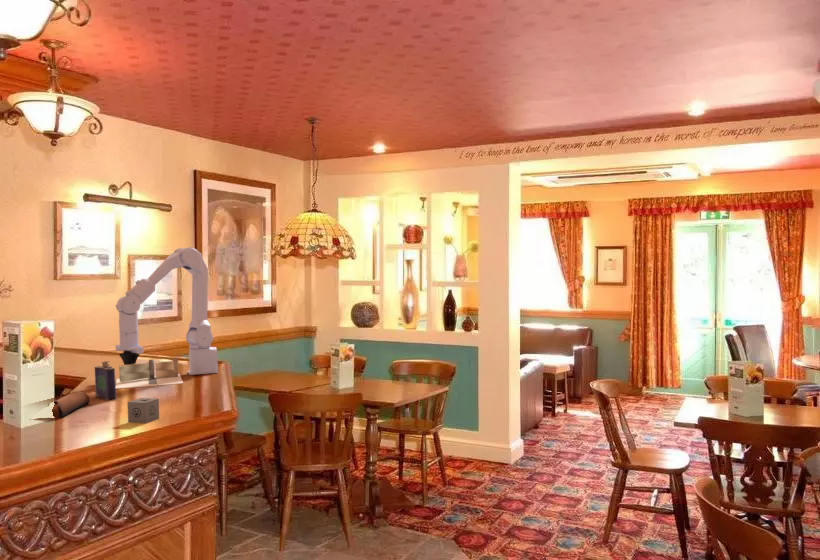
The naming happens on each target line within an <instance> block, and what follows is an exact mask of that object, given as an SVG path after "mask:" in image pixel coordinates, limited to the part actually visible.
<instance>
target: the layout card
mask: <svg viewBox="0 0 820 560" xmlns="http://www.w3.org/2000/svg"><path fill="white" fill-rule="evenodd" d="M180 384H184V381H183V379H182V376H181V374H179V373H178V377H163V378H156V375H155V378H151V379H150V378H145V379H138V380H131V381H124V382H120V378H116V379H115V388H116V390H119V389H120V390H121V389H130V388H131V389H132V388H142V387H143V388H144V387H156V386H157V385H158V386H157V387H159V386H169V385H180Z"/></svg>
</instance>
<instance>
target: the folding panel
mask: <svg viewBox="0 0 820 560" xmlns="http://www.w3.org/2000/svg"><path fill="white" fill-rule="evenodd" d="M118 368H119V369H118V372H119V377H118V378H119V379H120V382H124V381H131V380H138V379H145V378H150V376H149V361H144V362H136V363H135V364H127V365H124V364H121V365H118Z"/></svg>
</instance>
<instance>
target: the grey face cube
mask: <svg viewBox="0 0 820 560" xmlns="http://www.w3.org/2000/svg"><path fill="white" fill-rule="evenodd" d="M159 400H160V398H155V397H152V398H149V397H140V398H136V399H133V400H130V401H127V422H128V423H132V424H133V423H135V424H148V423H150V422H151V423H152V422H154V421H156V420H160V401H159Z"/></svg>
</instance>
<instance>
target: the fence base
mask: <svg viewBox="0 0 820 560" xmlns="http://www.w3.org/2000/svg"><path fill="white" fill-rule="evenodd" d="M178 359H179V358H178V357H173V358H172V360H170V361H159V362H158V361H156V362H155V359H148V362H149V376H150V379H151V378H155V376H156V378H163V377H178V374H179V362H178V361H179V360H178Z"/></svg>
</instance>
